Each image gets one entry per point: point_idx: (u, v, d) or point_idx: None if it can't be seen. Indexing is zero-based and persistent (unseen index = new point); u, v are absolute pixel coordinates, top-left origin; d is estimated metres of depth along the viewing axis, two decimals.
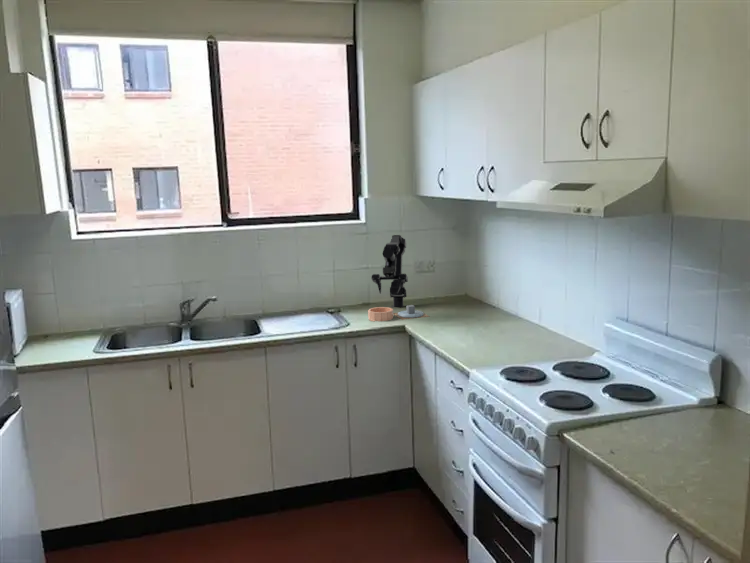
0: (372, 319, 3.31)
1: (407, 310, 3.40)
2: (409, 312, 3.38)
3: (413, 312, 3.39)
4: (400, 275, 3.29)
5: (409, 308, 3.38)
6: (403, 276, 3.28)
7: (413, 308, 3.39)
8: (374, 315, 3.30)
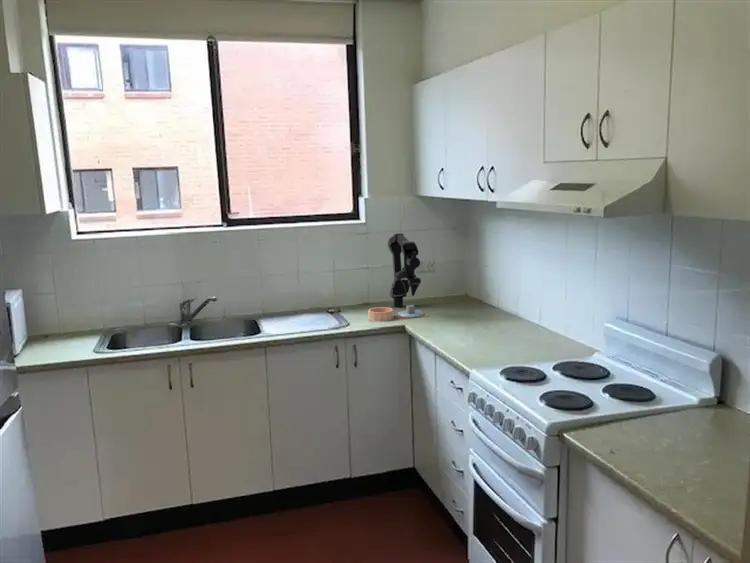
0: (372, 319, 3.31)
1: (407, 310, 3.40)
2: (409, 312, 3.38)
3: (413, 312, 3.39)
4: (408, 280, 3.30)
5: (409, 308, 3.38)
6: (409, 282, 3.29)
7: (413, 308, 3.39)
8: (374, 315, 3.30)
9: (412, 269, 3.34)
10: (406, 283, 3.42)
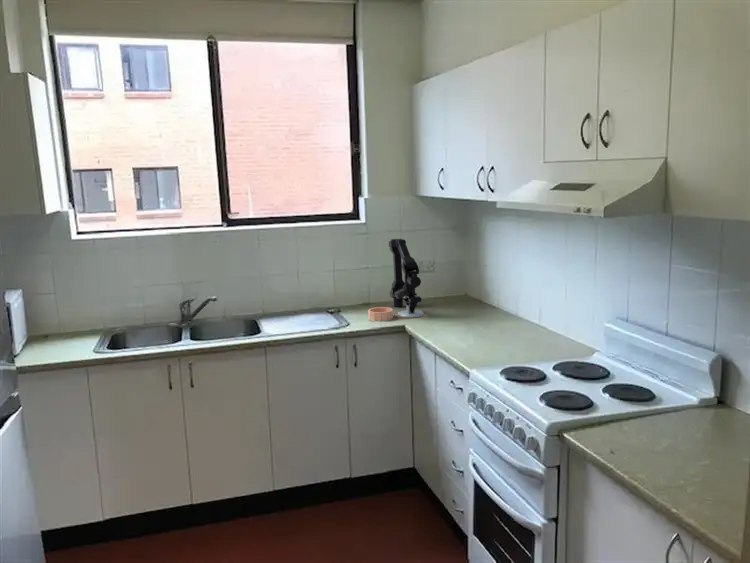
0: (372, 319, 3.31)
1: (407, 310, 3.40)
2: (409, 312, 3.38)
3: (413, 312, 3.39)
4: (409, 299, 3.32)
5: (409, 308, 3.38)
6: (410, 300, 3.31)
7: None
8: (374, 315, 3.30)
9: (413, 287, 3.36)
10: (408, 302, 3.42)
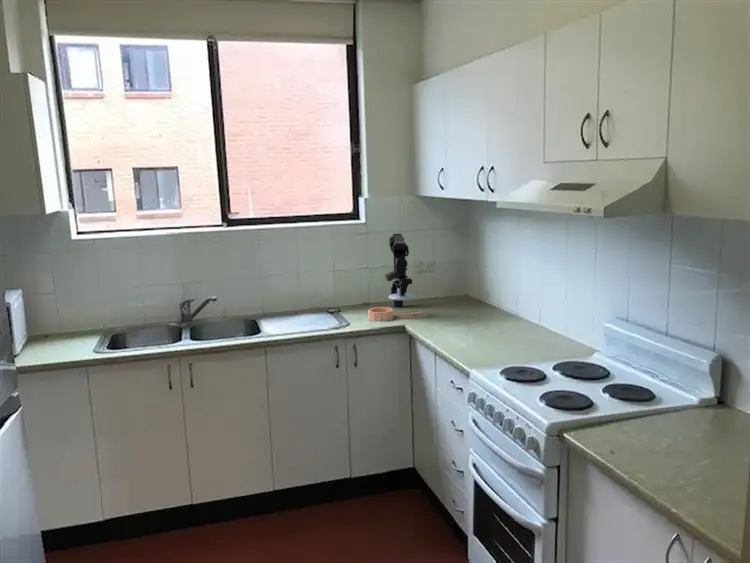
0: (372, 319, 3.31)
1: (398, 293, 3.36)
2: (400, 295, 3.35)
3: (404, 295, 3.36)
4: (399, 281, 3.29)
5: (400, 291, 3.35)
6: (400, 283, 3.27)
7: None
8: (374, 315, 3.30)
9: (403, 270, 3.32)
10: (399, 285, 3.38)
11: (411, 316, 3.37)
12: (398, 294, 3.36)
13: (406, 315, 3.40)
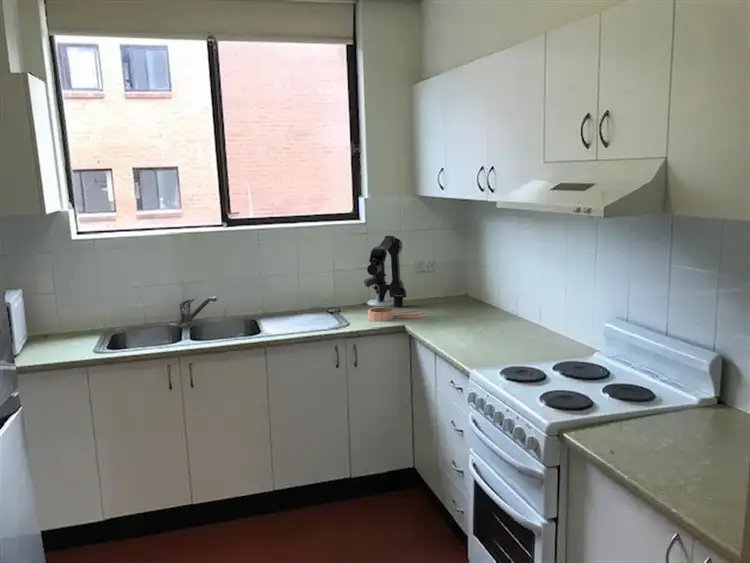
0: (372, 319, 3.31)
1: (377, 298, 3.34)
2: (379, 300, 3.32)
3: (383, 300, 3.33)
4: (377, 287, 3.26)
5: None
6: (378, 289, 3.24)
7: None
8: (374, 315, 3.30)
9: (382, 276, 3.29)
10: (378, 290, 3.35)
11: (411, 316, 3.37)
12: (377, 300, 3.33)
13: (406, 315, 3.40)
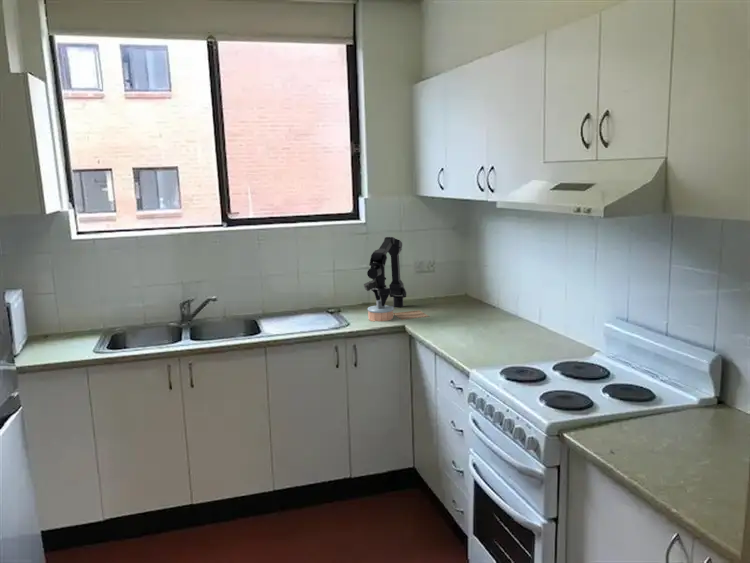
0: (372, 319, 3.31)
1: (377, 305, 3.34)
2: (379, 307, 3.33)
3: (383, 307, 3.33)
4: (378, 291, 3.26)
5: (379, 303, 3.32)
6: (378, 292, 3.25)
7: None
8: (374, 315, 3.30)
9: (382, 279, 3.30)
10: (377, 293, 3.38)
11: (411, 316, 3.37)
12: (377, 306, 3.34)
13: (406, 315, 3.40)
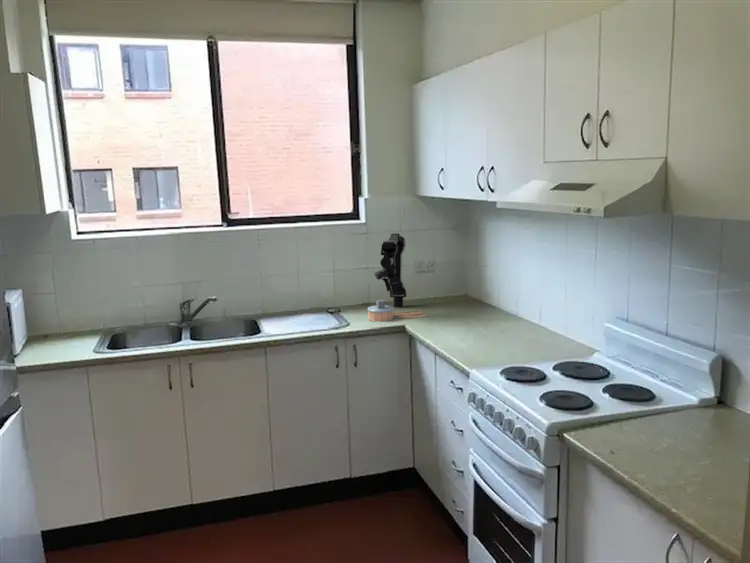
0: (372, 319, 3.31)
1: (377, 305, 3.34)
2: (379, 307, 3.33)
3: (383, 307, 3.33)
4: (388, 279, 3.32)
5: (379, 303, 3.32)
6: (389, 281, 3.31)
7: (383, 303, 3.33)
8: (374, 315, 3.30)
9: (392, 268, 3.36)
10: (387, 282, 3.44)
11: (411, 316, 3.37)
12: (377, 306, 3.34)
13: (406, 315, 3.40)
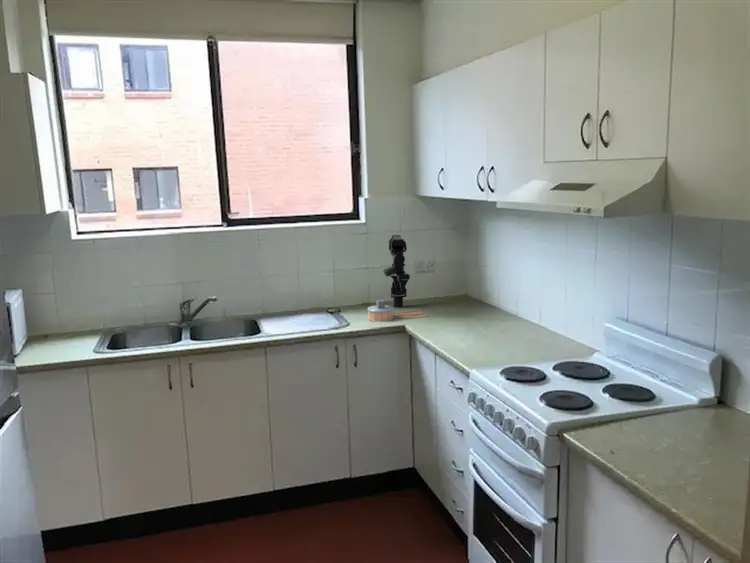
0: (372, 319, 3.31)
1: (377, 305, 3.34)
2: (379, 307, 3.33)
3: (383, 307, 3.33)
4: (397, 276, 3.38)
5: (379, 303, 3.32)
6: (398, 278, 3.36)
7: (383, 303, 3.33)
8: (374, 315, 3.30)
9: (401, 265, 3.41)
10: (396, 279, 3.50)
11: (411, 316, 3.37)
12: (377, 306, 3.34)
13: (406, 315, 3.40)
